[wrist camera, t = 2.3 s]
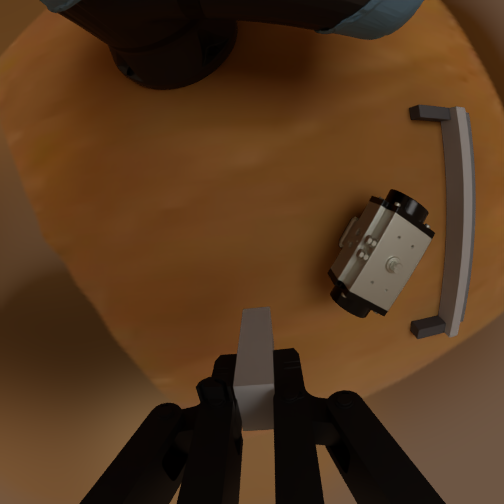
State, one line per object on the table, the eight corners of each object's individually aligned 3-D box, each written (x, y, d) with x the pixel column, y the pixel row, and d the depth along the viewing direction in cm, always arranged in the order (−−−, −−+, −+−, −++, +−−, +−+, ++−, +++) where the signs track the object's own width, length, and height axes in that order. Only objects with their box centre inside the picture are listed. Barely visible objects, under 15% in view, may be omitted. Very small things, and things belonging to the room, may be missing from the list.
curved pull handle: (409, 107, 29) (424, 102, 25) (464, 113, 28) (482, 110, 25) (410, 330, 37) (421, 344, 33) (459, 318, 37) (473, 330, 33)
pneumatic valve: (394, 203, 32) (449, 221, 21) (346, 285, 36) (379, 335, 24) (358, 179, 32) (404, 186, 20) (309, 265, 35) (330, 312, 23)
